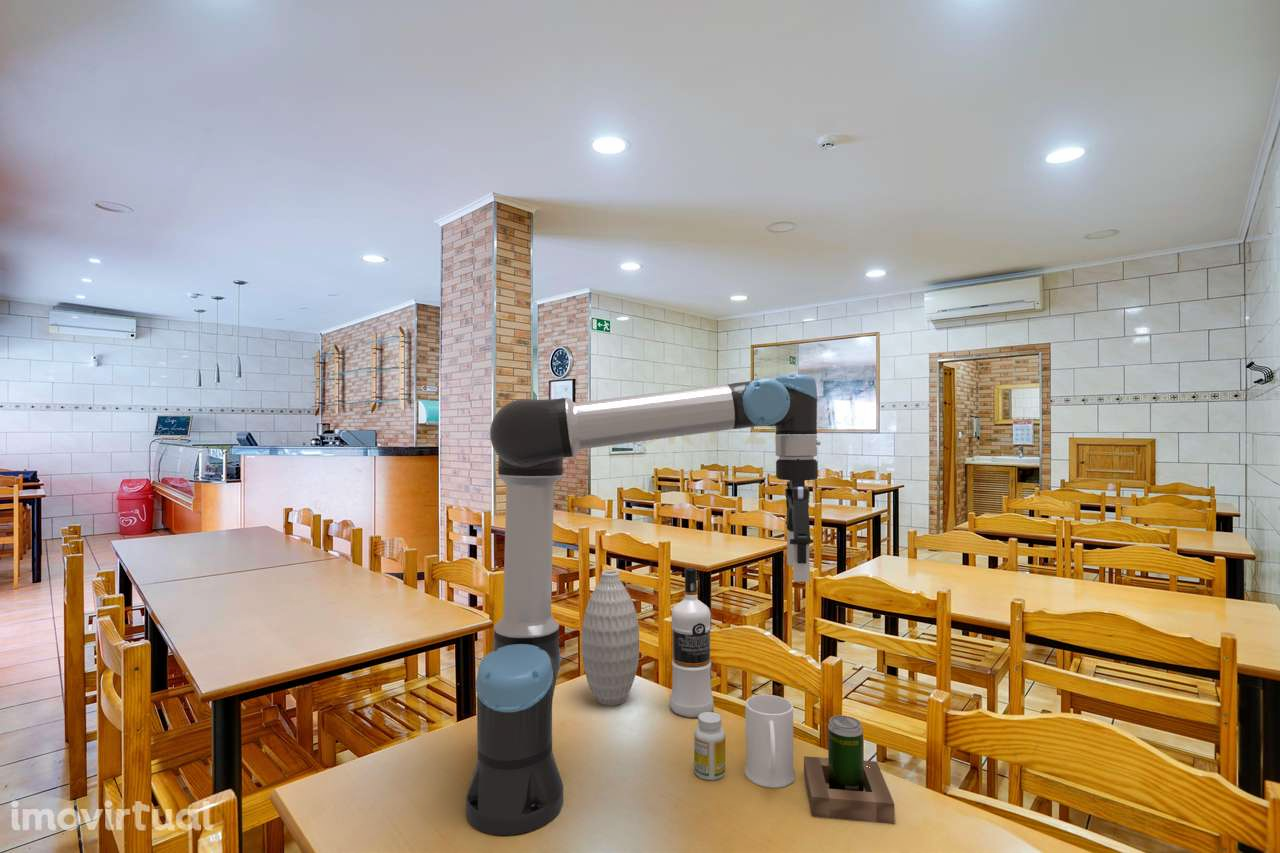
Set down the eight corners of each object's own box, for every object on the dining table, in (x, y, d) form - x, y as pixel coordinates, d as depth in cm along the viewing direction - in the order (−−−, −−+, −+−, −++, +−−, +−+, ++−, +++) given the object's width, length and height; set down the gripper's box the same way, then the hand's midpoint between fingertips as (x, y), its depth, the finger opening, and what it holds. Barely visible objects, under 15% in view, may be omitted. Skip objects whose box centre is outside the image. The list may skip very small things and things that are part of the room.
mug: (796, 802, 98) (796, 726, 98) (742, 796, 99) (741, 721, 100) (794, 763, 109) (793, 695, 109) (745, 758, 111) (745, 691, 111)
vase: (619, 718, 127) (619, 581, 127) (570, 704, 134) (569, 574, 134) (650, 695, 138) (649, 569, 138) (603, 683, 144) (602, 563, 145)
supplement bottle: (695, 781, 104) (695, 724, 104) (693, 764, 109) (692, 709, 109) (727, 781, 104) (727, 724, 104) (723, 764, 109) (723, 709, 109)
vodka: (705, 698, 136) (704, 562, 137) (719, 716, 127) (718, 571, 128) (665, 702, 134) (664, 564, 135) (676, 721, 125) (675, 574, 126)
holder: (812, 816, 94) (811, 796, 94) (803, 773, 106) (803, 756, 106) (894, 823, 92) (894, 803, 92) (877, 779, 104) (876, 761, 104)
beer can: (870, 804, 97) (870, 728, 97) (840, 809, 96) (839, 732, 96) (851, 785, 102) (850, 713, 102) (822, 790, 101) (821, 716, 101)
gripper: (826, 461, 101) (828, 590, 101) (809, 455, 126) (810, 559, 126) (780, 461, 103) (781, 588, 102) (772, 455, 127) (773, 558, 127)
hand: (797, 572), depth 114 cm, fingers open, 13 cm apart
